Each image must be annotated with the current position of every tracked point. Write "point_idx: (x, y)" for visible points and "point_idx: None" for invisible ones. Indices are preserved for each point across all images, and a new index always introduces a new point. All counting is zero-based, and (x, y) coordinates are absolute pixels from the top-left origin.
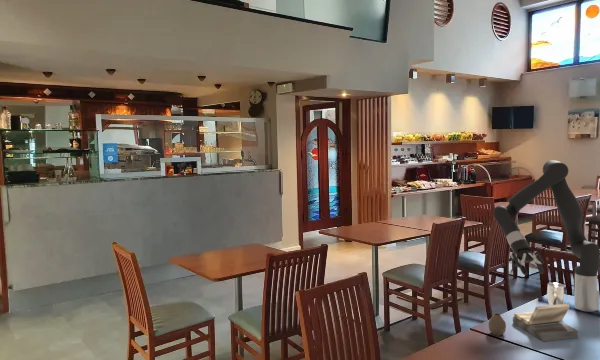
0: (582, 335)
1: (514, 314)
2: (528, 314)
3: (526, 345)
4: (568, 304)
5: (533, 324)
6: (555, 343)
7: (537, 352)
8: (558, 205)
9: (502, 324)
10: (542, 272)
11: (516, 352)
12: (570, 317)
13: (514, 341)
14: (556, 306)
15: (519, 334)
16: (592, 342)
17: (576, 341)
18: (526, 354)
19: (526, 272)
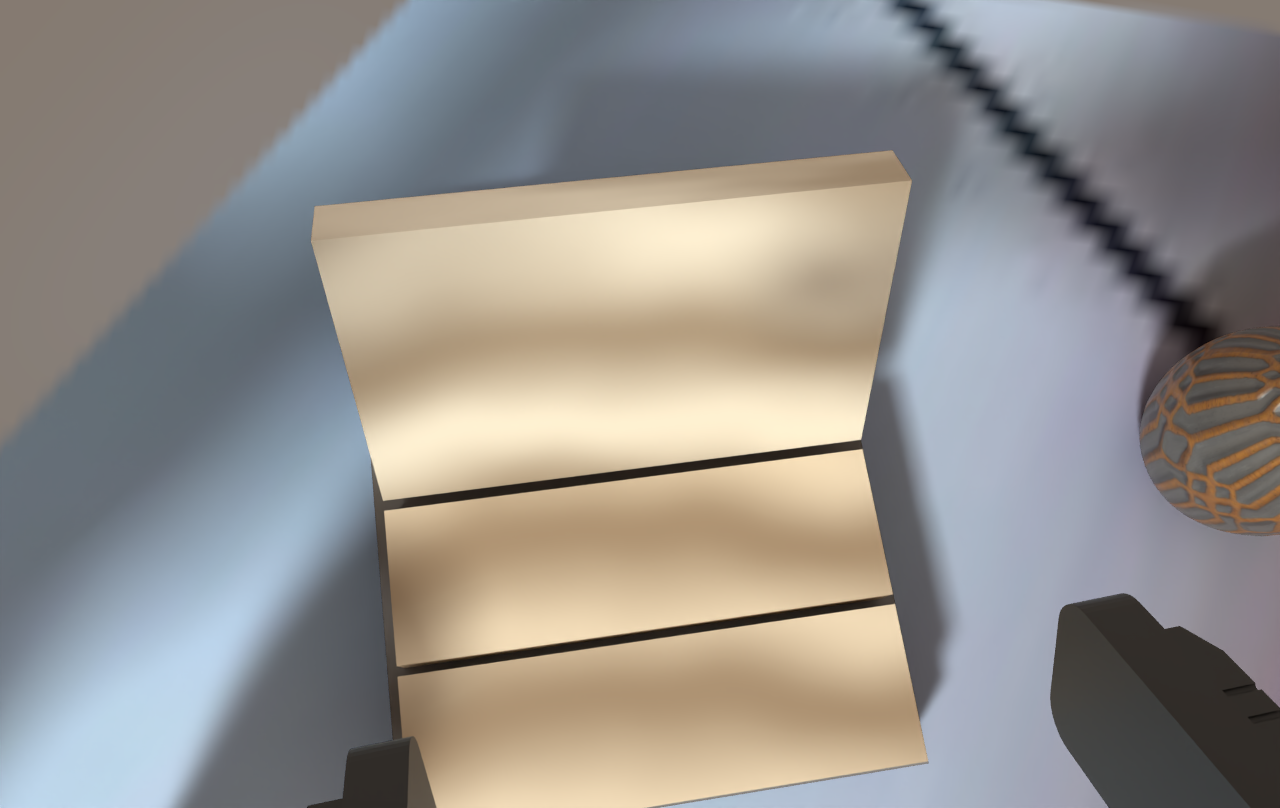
0: (277, 306)
1: (923, 753)
2: (736, 701)
3: (998, 160)
4: (314, 228)
5: (779, 459)
6: (693, 164)
7: (960, 22)
8: None
9: (1253, 329)
10: (421, 762)
11: (1146, 46)
12: None
13: (1080, 256)
14: (558, 195)
15: (959, 413)
16: (304, 138)
17: (451, 179)
18: (1073, 2)
19: (1128, 597)
